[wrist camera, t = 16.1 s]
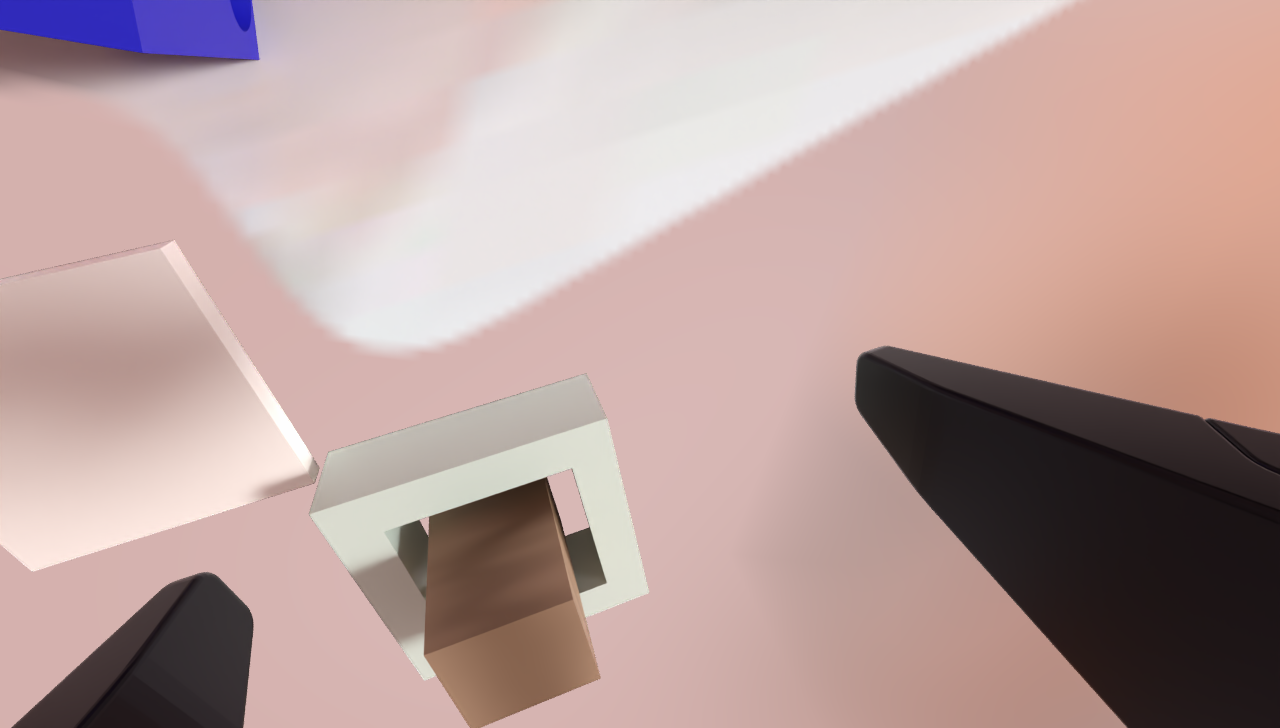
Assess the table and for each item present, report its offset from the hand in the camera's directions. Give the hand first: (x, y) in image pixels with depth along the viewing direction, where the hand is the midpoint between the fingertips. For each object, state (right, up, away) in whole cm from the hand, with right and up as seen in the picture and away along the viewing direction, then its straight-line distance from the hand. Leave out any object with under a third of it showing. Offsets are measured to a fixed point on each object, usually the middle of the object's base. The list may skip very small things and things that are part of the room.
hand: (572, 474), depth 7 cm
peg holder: (-5, -4, +14) cm, 15 cm away
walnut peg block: (-5, -4, +14) cm, 15 cm away
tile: (-14, 0, +8) cm, 16 cm away
